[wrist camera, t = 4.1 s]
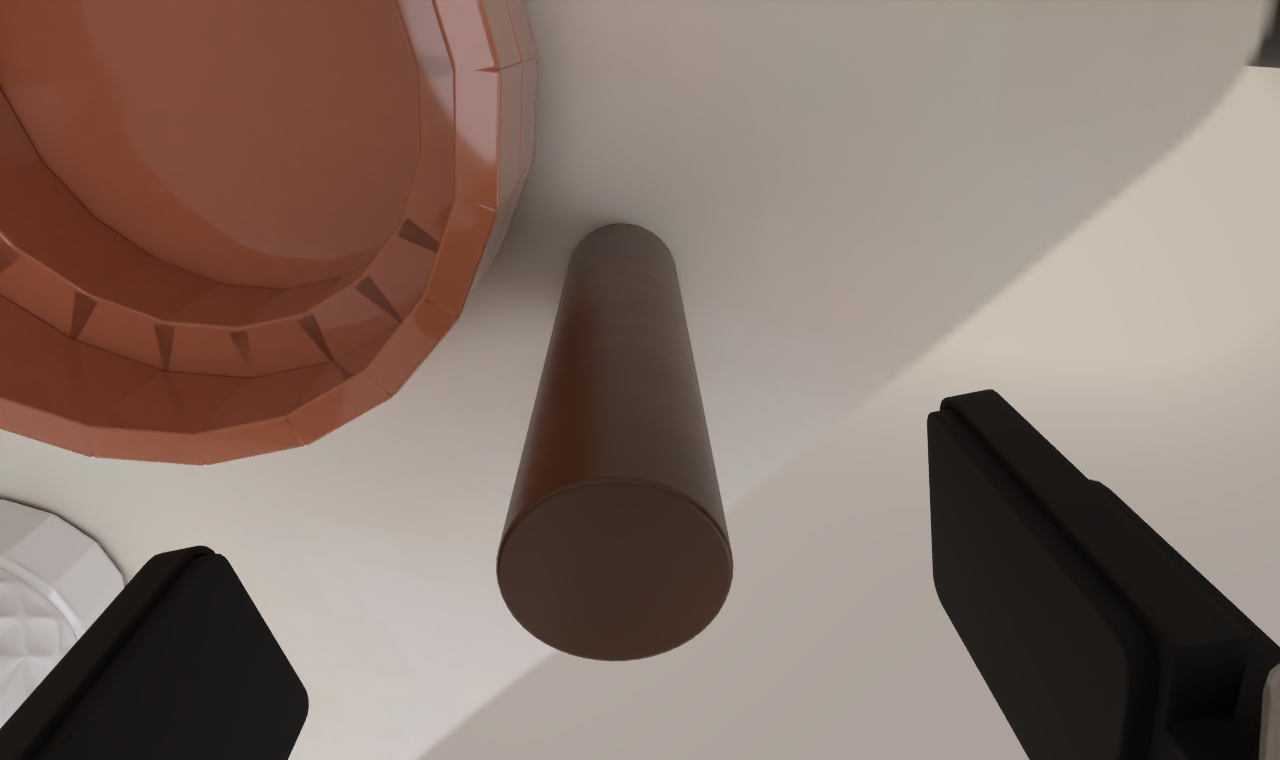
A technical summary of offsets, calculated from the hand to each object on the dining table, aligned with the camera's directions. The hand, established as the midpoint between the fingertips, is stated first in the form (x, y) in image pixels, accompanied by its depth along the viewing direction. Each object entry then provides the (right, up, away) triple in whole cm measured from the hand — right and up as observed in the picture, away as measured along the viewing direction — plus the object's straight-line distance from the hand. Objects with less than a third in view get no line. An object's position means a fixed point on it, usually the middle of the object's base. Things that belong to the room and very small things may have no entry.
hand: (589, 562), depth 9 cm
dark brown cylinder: (0, +5, +10) cm, 12 cm away
